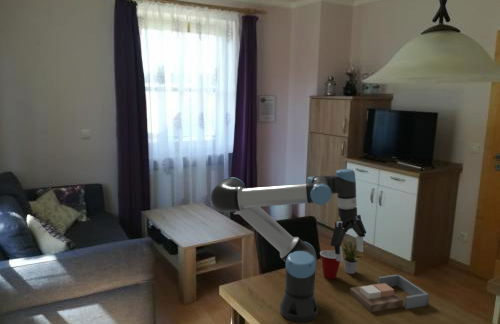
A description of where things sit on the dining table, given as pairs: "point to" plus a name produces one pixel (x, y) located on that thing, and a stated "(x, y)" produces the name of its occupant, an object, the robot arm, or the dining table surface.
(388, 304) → the walnut plate
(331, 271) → the plastic cup
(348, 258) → the house plant
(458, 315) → the dining table surface
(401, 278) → the box
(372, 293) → the cream tile
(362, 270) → the dining table surface
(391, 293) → the terracotta tile
